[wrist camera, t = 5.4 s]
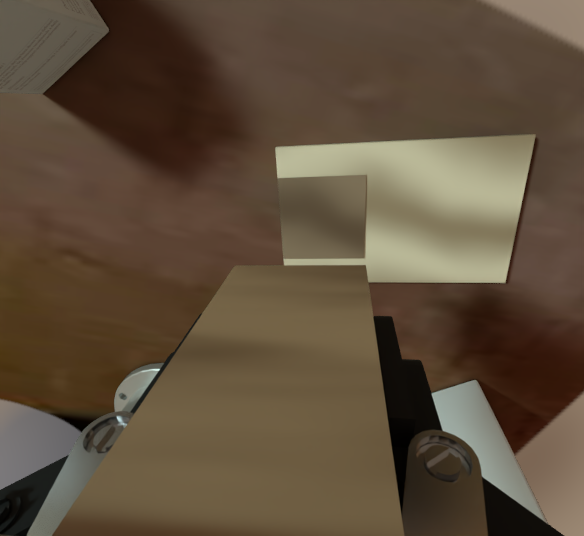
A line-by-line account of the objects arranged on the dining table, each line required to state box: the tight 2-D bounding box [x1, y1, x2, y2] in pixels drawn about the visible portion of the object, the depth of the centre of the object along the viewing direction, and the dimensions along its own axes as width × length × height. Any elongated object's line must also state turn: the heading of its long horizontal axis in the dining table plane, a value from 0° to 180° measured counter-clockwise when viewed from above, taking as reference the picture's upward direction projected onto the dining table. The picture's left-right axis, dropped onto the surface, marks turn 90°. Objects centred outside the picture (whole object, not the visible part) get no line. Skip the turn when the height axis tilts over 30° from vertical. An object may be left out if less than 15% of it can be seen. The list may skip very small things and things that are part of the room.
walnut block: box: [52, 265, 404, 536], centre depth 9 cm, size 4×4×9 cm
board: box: [275, 134, 536, 283], centre depth 25 cm, size 10×16×1 cm, turn 93°
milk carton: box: [431, 380, 548, 524], centre depth 23 cm, size 7×7×19 cm
